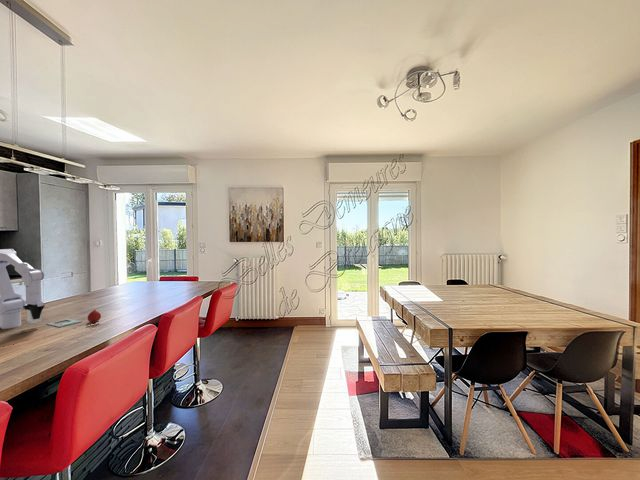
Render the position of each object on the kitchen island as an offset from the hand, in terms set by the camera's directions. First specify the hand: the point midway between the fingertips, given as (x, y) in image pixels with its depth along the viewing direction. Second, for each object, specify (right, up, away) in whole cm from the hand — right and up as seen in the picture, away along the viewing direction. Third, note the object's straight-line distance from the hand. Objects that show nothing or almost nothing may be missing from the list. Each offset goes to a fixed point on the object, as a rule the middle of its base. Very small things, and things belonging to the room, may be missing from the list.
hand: (34, 318), depth 144 cm
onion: (+24, -6, +10) cm, 27 cm away
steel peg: (0, -2, 0) cm, 2 cm away
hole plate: (+9, -6, +8) cm, 13 cm away
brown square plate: (0, -6, 0) cm, 6 cm away
